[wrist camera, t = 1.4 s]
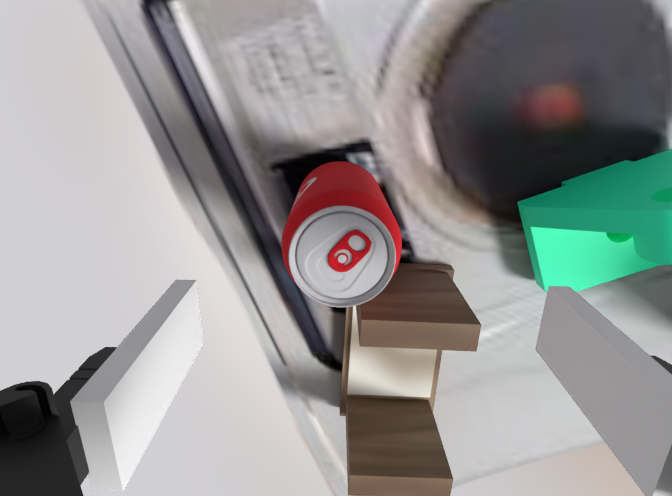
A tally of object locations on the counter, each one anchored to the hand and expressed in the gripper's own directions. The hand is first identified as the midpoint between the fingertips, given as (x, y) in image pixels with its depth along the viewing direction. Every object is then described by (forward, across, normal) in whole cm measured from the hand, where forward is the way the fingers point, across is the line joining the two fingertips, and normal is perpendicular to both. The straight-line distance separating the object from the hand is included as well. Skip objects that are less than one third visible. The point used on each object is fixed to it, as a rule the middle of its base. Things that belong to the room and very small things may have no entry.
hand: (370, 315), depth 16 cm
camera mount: (+17, +19, -1) cm, 25 cm away
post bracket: (+16, +3, -12) cm, 20 cm away
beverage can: (+17, -1, 0) cm, 17 cm away
